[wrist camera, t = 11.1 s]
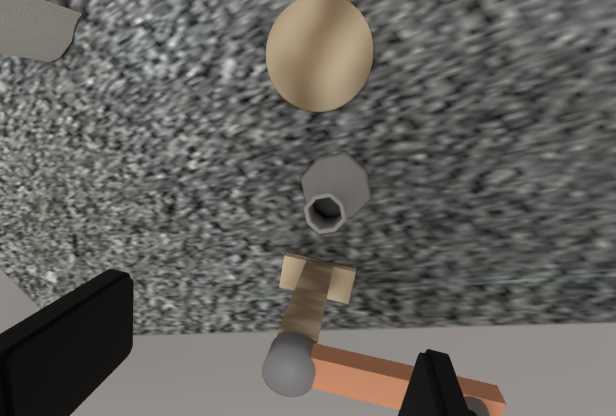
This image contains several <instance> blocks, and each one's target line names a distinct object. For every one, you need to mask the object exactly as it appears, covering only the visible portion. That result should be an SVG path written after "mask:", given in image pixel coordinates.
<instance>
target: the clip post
mask: <svg viewBox="0 0 616 416" xmlns="http://www.w3.org/2000/svg"><path fill="white" fill-rule="evenodd" d="M355 274H356V268H353V267H348V266H344V265H340V264H336V263H331V262H327V261H323V260H319V259H314V258H310V257H306V256H302V255H297V254H293V253H289V252H286V254H285V255H284V261H283V267H282V273H281V279H280V285H279V287H281V288H285V289H289V290H293V291H294V292H293V295H292V297H291V300H290V302H289V305H288V307H287V310H286V312H285V314H284V317H283V319H282V322H281V324H280V327H279V330H278V336H279V335H280V334H283V333H287V332H295V333H300V334H302V335H304V336H306V337H308V338H309V339H310V340H311V341H312V342H313V343H315V344H317V341H318V337H319V332H320V327H321V323H322V318H323V313H324V308H325V304H326V299H330V300H334V301H338V302H342V303H346V304H348V303H349V299H350V295H351V291H352V287H353V282H354V278H355Z"/></svg>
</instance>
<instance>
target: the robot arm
mask: <svg viewBox="0 0 616 416" xmlns="http://www.w3.org/2000/svg"><path fill="white" fill-rule="evenodd" d="M132 345H133V280H132V279H131V278H130V275H129V274H128V273H126V272H122V271H118V270H114V269H109V270H106V271H105V272H103V273H101V274H100V275H98V276H96V277H95V278H93V279H91V280H90V281H88V282H86V283H85V284H83V285H81V286H80V287H78V288H76V289H75V290H73V291H71V292H70V293H68V294H66V295H65V296H63V297H61V298H60V299H58V300H56V301H55V302H53V303H51V304H50V305H48V306H46V307H44V308H43V309H41V310H39V311H38V312H36V313H34V314H33V315H31V316H29V317H28V318H26V319H25V320H23V321H21V322H19V323H18V324H16V325H14V326H13V327H11V328H9V329H8V330H6V331H4V332H3V333H1V334H0V416H70V415H71V414H72V412H74V411H75V409H77V407H78V406H79V405H80V404H81V403H82V402H83V401H84V400H85V399H86V398H87V397H88V396H89V395H90V394H91V393H92V392H93V391H94V390H95V389H96V388H97V387H98V386H99V385H100V384H101V383H102V382H103V381H104V380H105V379H106V378H107V377H108V376H109V375H110V374H111V373H112V372H113V371H114V370H115V369H116V368H117V367H118V366H119V365H120V364H121V363H122V362H123V361H124V360H125V359H126V357H127V356H128V355H129V353H130V352H131V349H132ZM398 416H477V414H476V413H475V412H474V411H473V410H469V409H468V407H467V404H466V401H465V398H464V396H463V393H462V390H461V387H460V385H459V382H458V379H457V376H456V374H455V371H454V368H453V366H452V363H451V360H450V357H449V355H448V354H446V353H442V352H437V351H434V350H430V349H427V350H426V352H425V353H419V355H418V357H417V361H416V363H415V366H414V369H413V372H412V375H411V378H410V381H409V384H408V387H407V390H406V393H405V396H404V399H403V402H402V405H401V408H400V411H399V414H398Z"/></svg>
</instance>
